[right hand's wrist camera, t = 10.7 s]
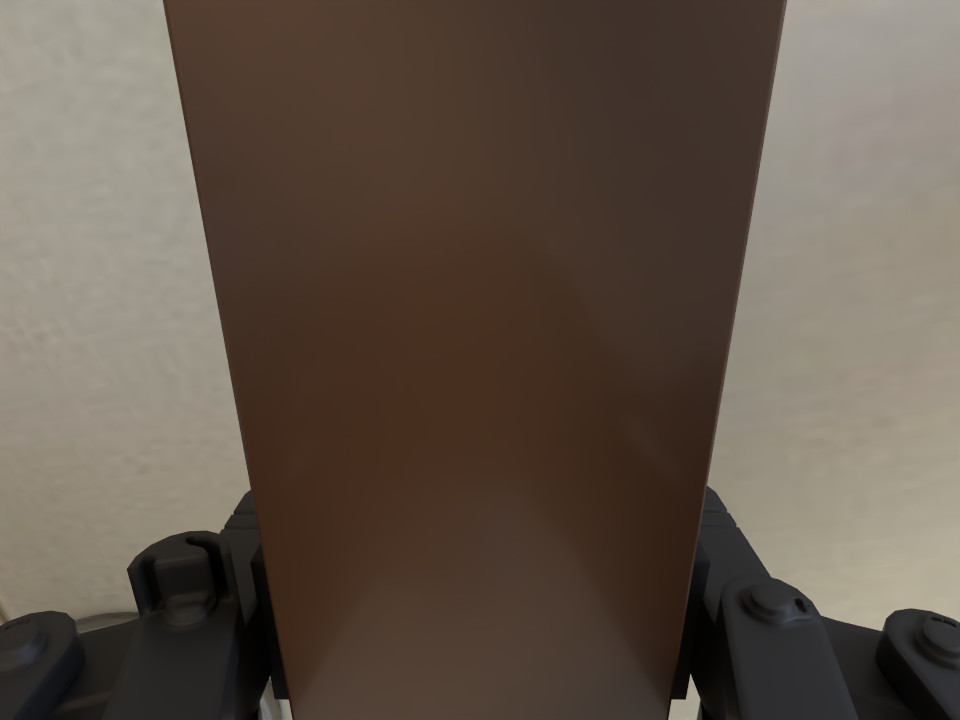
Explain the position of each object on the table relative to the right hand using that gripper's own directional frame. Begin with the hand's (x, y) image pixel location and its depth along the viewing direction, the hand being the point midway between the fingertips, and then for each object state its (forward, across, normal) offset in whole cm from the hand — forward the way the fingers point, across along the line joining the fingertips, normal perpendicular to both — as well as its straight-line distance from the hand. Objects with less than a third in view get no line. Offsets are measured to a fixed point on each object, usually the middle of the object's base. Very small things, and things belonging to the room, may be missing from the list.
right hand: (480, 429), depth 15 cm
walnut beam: (0, 0, +12) cm, 12 cm away
